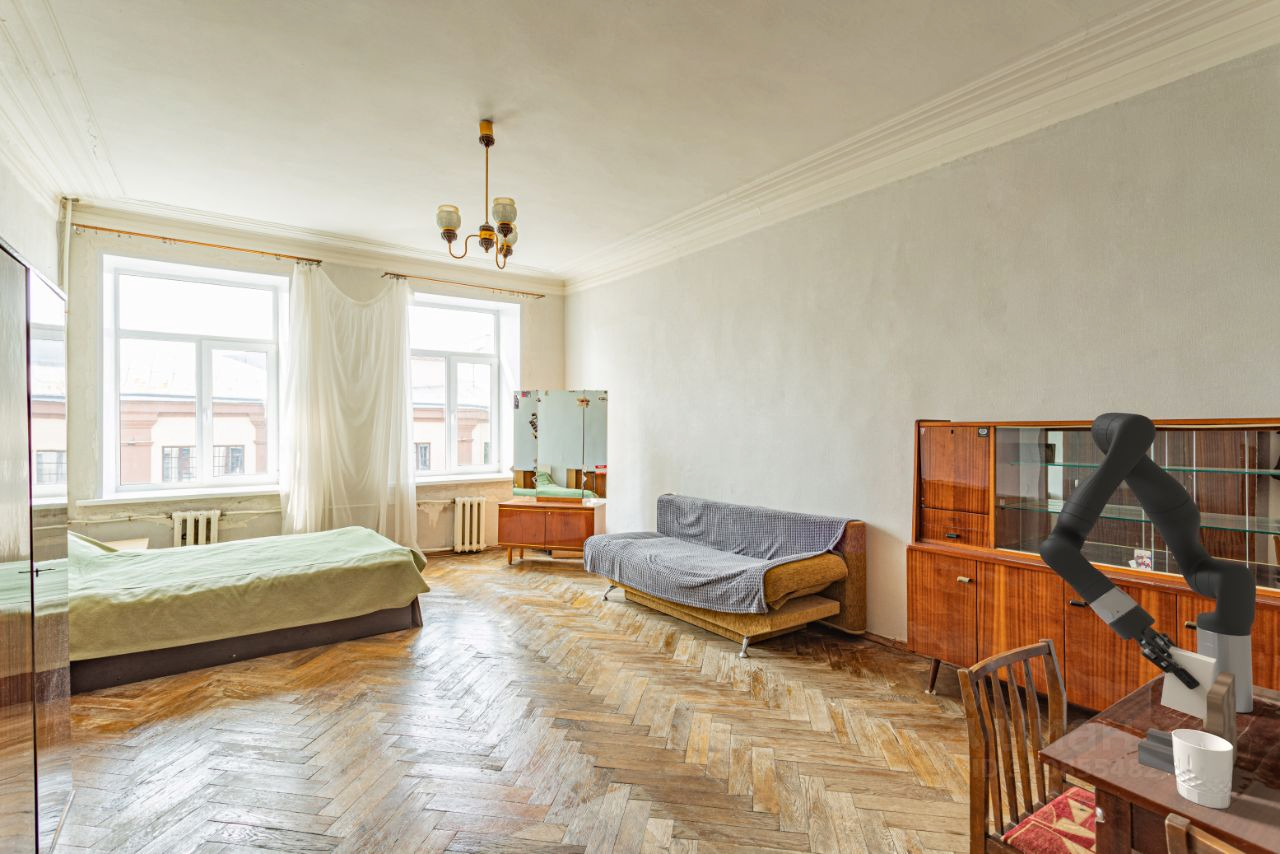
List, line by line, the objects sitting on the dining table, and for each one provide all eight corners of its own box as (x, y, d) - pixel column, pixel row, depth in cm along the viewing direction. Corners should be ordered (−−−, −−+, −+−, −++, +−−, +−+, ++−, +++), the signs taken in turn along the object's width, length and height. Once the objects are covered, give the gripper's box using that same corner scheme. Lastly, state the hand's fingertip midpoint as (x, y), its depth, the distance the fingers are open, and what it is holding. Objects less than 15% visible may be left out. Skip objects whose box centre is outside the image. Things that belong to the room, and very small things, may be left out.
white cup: (1163, 791, 109) (1161, 734, 109) (1188, 781, 112) (1187, 725, 112) (1219, 816, 102) (1217, 754, 102) (1244, 804, 105) (1243, 745, 105)
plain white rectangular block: (1163, 700, 132) (1171, 646, 130) (1207, 715, 126) (1216, 659, 125) (1160, 704, 130) (1168, 649, 128) (1205, 720, 124) (1214, 663, 123)
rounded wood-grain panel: (1158, 734, 129) (1156, 657, 130) (1237, 756, 120) (1235, 674, 120) (1138, 762, 118) (1136, 678, 119) (1224, 789, 109) (1221, 698, 109)
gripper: (1127, 609, 129) (1208, 685, 120) (1143, 596, 138) (1220, 666, 129) (1097, 629, 133) (1174, 704, 124) (1115, 615, 142) (1187, 684, 133)
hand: (1197, 684), depth 126 cm, fingers closed on plain white rectangular block, 3 cm apart
